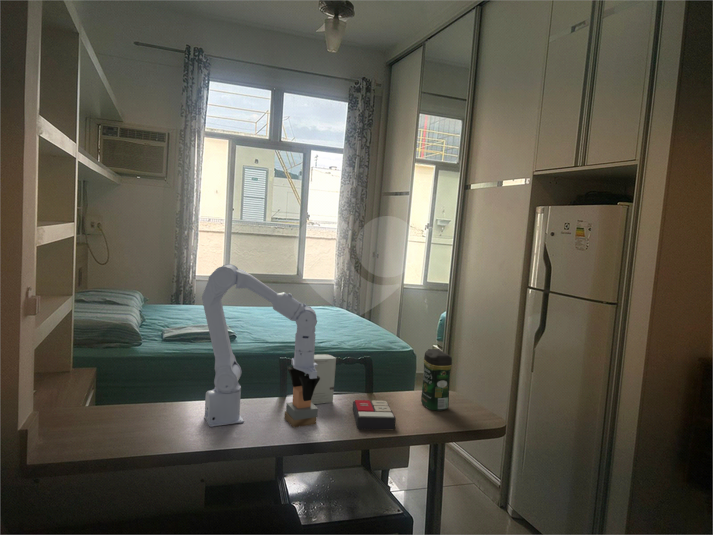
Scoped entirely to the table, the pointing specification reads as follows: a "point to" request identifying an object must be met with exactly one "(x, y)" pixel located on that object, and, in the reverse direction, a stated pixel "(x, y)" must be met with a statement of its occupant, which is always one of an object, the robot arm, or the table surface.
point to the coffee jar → (436, 380)
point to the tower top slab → (301, 411)
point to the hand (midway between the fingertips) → (302, 395)
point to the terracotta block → (299, 398)
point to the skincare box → (324, 379)
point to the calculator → (373, 415)
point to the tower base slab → (299, 421)
